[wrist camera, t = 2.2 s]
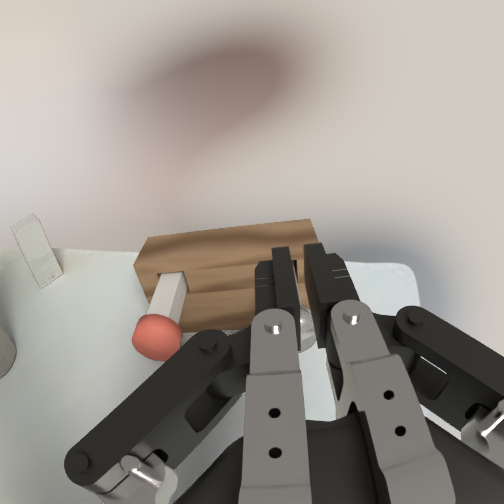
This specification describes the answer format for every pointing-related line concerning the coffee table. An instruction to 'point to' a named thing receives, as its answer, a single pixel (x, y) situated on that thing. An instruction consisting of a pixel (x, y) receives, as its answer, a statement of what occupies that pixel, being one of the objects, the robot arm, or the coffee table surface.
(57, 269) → the small box
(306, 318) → the grey plunger
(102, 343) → the coffee table surface
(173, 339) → the red plunger
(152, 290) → the walnut housing
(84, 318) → the coffee table surface
